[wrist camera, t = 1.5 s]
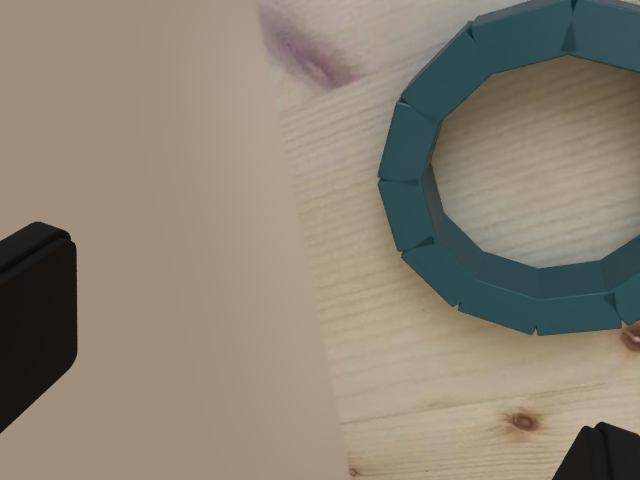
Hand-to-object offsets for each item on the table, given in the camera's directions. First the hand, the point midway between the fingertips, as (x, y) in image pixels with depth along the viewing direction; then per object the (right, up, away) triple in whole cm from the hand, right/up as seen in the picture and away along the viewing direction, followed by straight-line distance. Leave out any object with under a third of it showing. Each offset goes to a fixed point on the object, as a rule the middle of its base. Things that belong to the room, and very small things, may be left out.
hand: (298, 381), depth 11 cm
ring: (+9, +5, +12) cm, 15 cm away
